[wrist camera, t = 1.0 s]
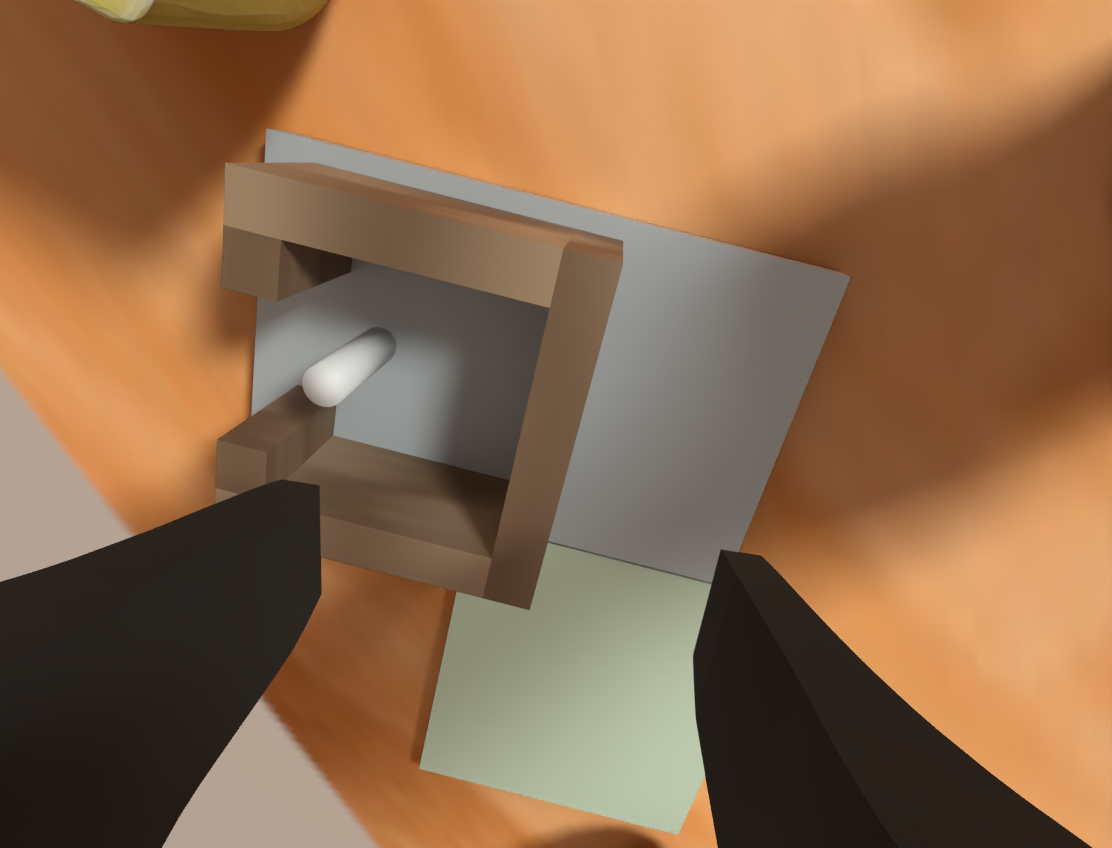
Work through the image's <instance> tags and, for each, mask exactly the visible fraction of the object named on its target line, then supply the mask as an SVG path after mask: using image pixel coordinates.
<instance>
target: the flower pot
mask: <svg viewBox="0 0 1112 848" xmlns="http://www.w3.org/2000/svg"><path fill="white" fill-rule="evenodd" d="M74 1H76V2H78V3H79V4H81V5H83V6H85V7H87V8H89V9H91V10H93V11H95V12H96V13H98V14H100V15H102V16H103V17H105V18H107V19H109V20H112V21H114V22H120V23H132V24H146V25H161V26H175V27H192V28H208V29H223V30H251V31H282V30H286V29H290V28H294V27H296V26H299V25H301V24H303V23H305V22H306V21H308V20H310V19H311V18H313V17H314V16H315V15H316V14H317V13H318V12H319V11H320V10H321V9H322V8H323V7H324V6H325V5H326V4H327V2H328V1H329V0H74Z"/></svg>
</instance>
